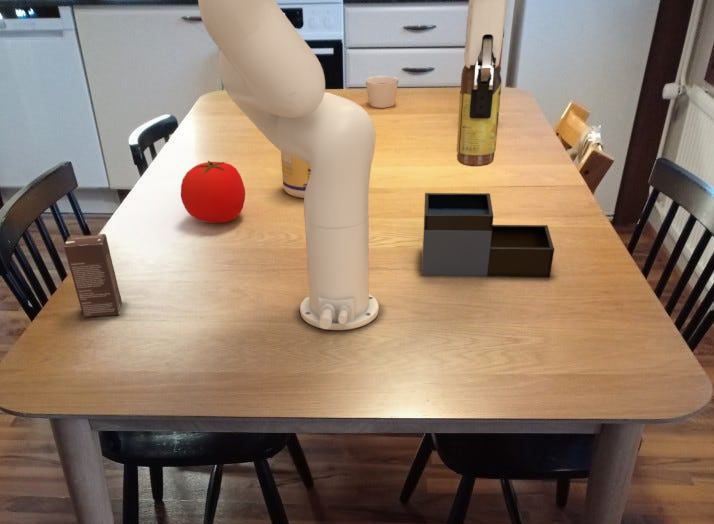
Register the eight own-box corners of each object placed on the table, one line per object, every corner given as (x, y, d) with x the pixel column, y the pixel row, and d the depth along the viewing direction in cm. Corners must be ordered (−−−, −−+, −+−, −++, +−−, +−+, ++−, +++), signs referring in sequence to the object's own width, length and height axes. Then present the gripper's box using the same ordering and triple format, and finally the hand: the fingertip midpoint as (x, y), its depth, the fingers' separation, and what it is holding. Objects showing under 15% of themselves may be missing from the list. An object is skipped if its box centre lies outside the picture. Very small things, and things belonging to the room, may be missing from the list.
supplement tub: (306, 204, 161) (301, 117, 150) (271, 189, 168) (264, 104, 157) (351, 190, 166) (350, 104, 155) (316, 176, 174) (312, 93, 163)
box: (122, 303, 129) (106, 232, 122) (119, 316, 126) (102, 244, 118) (86, 305, 129) (67, 235, 121) (81, 318, 126) (62, 246, 118)
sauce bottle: (501, 165, 125) (517, 22, 111) (466, 170, 123) (479, 25, 110) (481, 153, 129) (495, 14, 116) (447, 158, 128) (457, 17, 114)
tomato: (256, 209, 159) (251, 153, 152) (233, 234, 150) (226, 176, 143) (203, 205, 162) (195, 150, 155) (176, 229, 152) (167, 172, 145)
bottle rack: (549, 277, 133) (559, 216, 126) (421, 275, 134) (424, 215, 128) (543, 252, 140) (552, 193, 133) (422, 250, 142) (425, 192, 135)
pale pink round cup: (383, 98, 220) (383, 74, 216) (404, 105, 215) (405, 79, 211) (359, 105, 216) (358, 79, 212) (380, 111, 211) (380, 85, 207)
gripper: (463, -35, 116) (453, 97, 128) (466, -17, 103) (455, 127, 115) (513, -35, 116) (499, 97, 127) (523, -18, 103) (507, 128, 114)
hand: (479, 110), depth 121 cm, fingers closed on sauce bottle, 6 cm apart
